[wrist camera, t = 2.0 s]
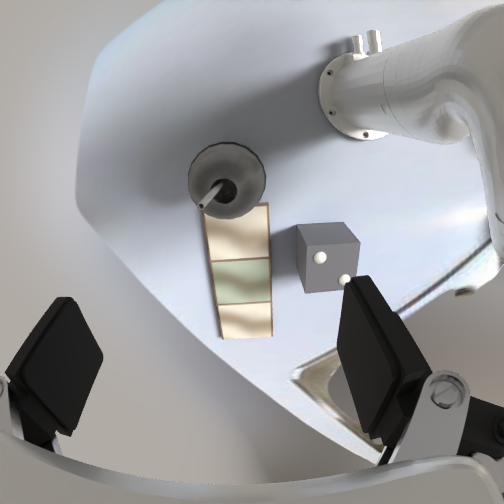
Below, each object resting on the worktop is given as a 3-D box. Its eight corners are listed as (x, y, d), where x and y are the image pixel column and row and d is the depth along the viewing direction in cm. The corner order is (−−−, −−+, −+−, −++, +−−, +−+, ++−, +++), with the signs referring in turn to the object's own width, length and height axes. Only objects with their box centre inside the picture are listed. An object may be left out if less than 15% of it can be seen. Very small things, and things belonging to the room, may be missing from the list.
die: (297, 224, 40) (307, 246, 34) (343, 222, 40) (360, 242, 34) (296, 267, 43) (305, 294, 37) (339, 263, 43) (354, 289, 37)
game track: (202, 207, 38) (201, 209, 37) (268, 202, 38) (268, 204, 37) (222, 336, 49) (222, 340, 48) (272, 333, 49) (272, 337, 48)
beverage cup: (252, 192, 38) (261, 268, 20) (199, 183, 37) (159, 249, 19) (264, 140, 34) (288, 166, 17) (209, 130, 34) (171, 144, 16)
